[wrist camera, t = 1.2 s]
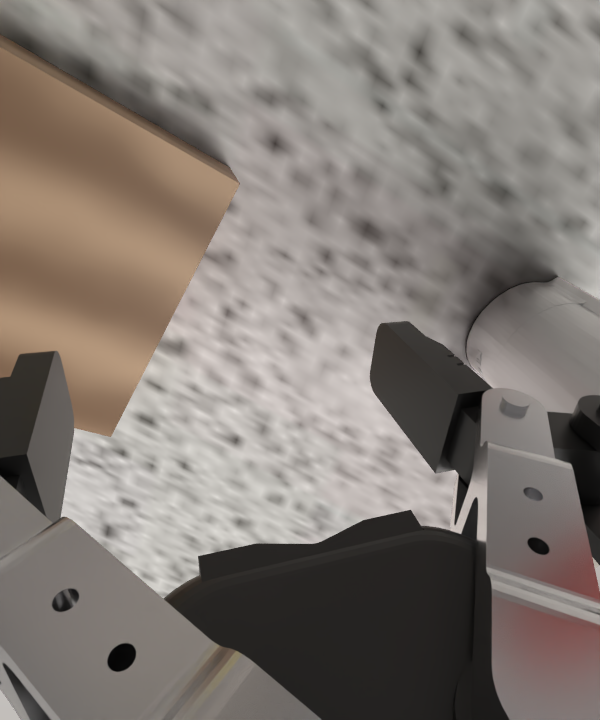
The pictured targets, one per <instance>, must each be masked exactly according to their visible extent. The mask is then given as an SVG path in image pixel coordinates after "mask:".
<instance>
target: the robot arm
mask: <svg viewBox="0 0 600 720" xmlns="http://www.w3.org/2000/svg"><path fill="white" fill-rule="evenodd" d="M466 352H467V357H468V361H469V363H470V364H471V366H472V368H473V369H474V370H475V371H476V372H477V373H478V374H479V375H480V376H481V377H482V378H483V379H482V378H481V377H479V376H478V375H477V374H476V373H475V372H474V371H473V370H471V369H470V368H469V367H468V366H467V365H464V363H463V362H462V361H461V360H460V359H459V358H458V357H454V354H453V353H452V352H451V351H449V350H448V349H447V348H446V347H445V346H444V345H442V344H440V343H438V342H436V341H434V340H432V339H430V338H428V337H426V336H425V335H424V334H422V333H421V332H420V331H419V330H418V329H417V328H416V327H415V326H413V325H412V324H411V323H410V322H408V321H403V322H391V323H382V324H380V326H379V327H378V329H377V333H376V339H375V346H374V352H373V358H372V364H371V370H370V381H371V386H372V389H373V391H374V393H375V395H376V396H377V397H378V399H379V400H380V401H381V403H382V404H383V405H384V407H385V408H386V409H387V411H388V412H389V413H390V414H391V416H392V417H393V418H394V420H395V421H396V422H397V424H398V425H399V426H400V428H401V429H402V430H403V431H404V433H405V434H406V435H407V437H408V438H409V439H410V441H411V442H412V443H413V445H414V446H415V447H416V449H417V450H418V451H419V452H420V454H421V455H422V456H423V458H424V459H425V460H426V462H427V463H428V464H429V466H430V467H431V468H432V470H433V471H434V472H435V473H441V472H446V471H451V470H456V472H457V473H458V474H457V477H456V480H455V484H454V493H453V503H452V513H451V523H450V530H446V529H441V528H436V527H429V526H421V525H420V524H419V522H418V521H417V519H416V518H415V516H414V514H413V513H412V511H411V510H408V511H404V512H399V513H394V514H390V515H385V516H381V517H376V518H371V519H367V520H363V521H361V522H359V523H357V524H355V525H353V526H351V527H349V528H347V529H345V530H343V531H341V532H339V533H338V534H336V535H334V536H332V537H330V538H328V539H326V540H324V541H322V542H319V543H316V544H252V545H248V546H243V547H238V548H234V549H229V550H225V551H220V552H216V553H211V554H206V555H202V556H198V560H199V573H200V575H199V576H197V577H195V578H193V579H191V580H189V581H187V582H186V583H184V584H183V585H181V586H179V587H178V588H176V589H175V590H174V591H172V592H171V593H170V594H169V595H167V596H166V597H165V598H164V599H163V598H162V597H161V596H159V595H158V594H157V593H156V592H155V591H154V590H153V589H151V588H150V587H149V586H148V585H147V584H146V583H144V582H143V581H142V580H141V579H140V578H139V577H138V576H136V575H135V574H134V573H133V572H132V571H131V570H129V569H128V568H127V567H126V566H125V565H124V564H123V563H121V562H120V561H119V560H118V559H117V558H116V557H114V556H113V555H112V554H111V553H110V552H109V551H108V550H106V549H105V548H104V547H103V546H102V545H101V544H99V543H98V542H97V541H96V540H95V539H94V538H92V537H91V536H90V535H89V534H88V533H87V532H86V531H84V530H83V529H82V528H81V527H80V526H79V525H77V524H76V523H75V522H74V521H73V520H71V519H69V518H67V517H61V510H62V504H63V498H64V492H65V485H66V479H67V473H68V467H69V460H70V454H71V448H72V441H73V435H74V415H73V408H72V403H71V399H70V395H69V391H68V386H67V382H66V378H65V373H64V369H63V365H62V361H61V357H60V355H59V353H58V351H47V352H36V353H24V354H20V355H19V356H18V359H17V361H16V364H15V366H14V369H13V371H12V374H11V376H10V377H2V378H0V690H1V691H2V692H3V694H4V695H5V697H6V698H7V699H8V701H9V702H10V704H11V705H12V707H13V708H14V709H15V711H16V713H17V714H18V716H19V718H20V719H21V720H600V591H599V587H598V582H597V577H596V573H595V568H594V563H593V559H592V557H593V558H594V559H595V560H596V561H597V562H598V564H599V565H600V300H599V299H597V298H596V297H594V296H592V295H590V294H589V293H587V292H585V291H583V290H581V289H580V288H578V287H576V286H574V285H573V284H571V283H569V282H567V281H565V280H564V279H562V278H560V277H557V278H555V279H553V280H552V281H549V282H546V283H541V282H531V283H525V284H521V285H519V286H516V287H513V288H511V289H509V290H507V291H506V292H504V293H502V294H501V295H499V296H498V297H497V298H495V299H494V300H493V301H492V302H490V304H489V305H488V306H487V307H486V308H485V309H484V310H483V311H482V312H481V314H480V315H479V316H478V318H477V319H476V321H475V322H474V324H473V326H472V329H471V331H470V333H469V337H468V340H467V350H466ZM60 517H61V518H60Z"/></svg>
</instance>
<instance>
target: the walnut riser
mask: <svg viewBox="0 0 600 720" xmlns="http://www.w3.org/2000/svg"><path fill="white" fill-rule="evenodd" d="M239 184H240V183H239V182H238V180H237V178H236V177H235V175H234V173H233V172H232V170H231V169H230V168H229V167H228V166H226V165H224V164H223V163H221V162H219V161H217V160H216V159H214V158H212V157H211V156H209V155H207V154H205V153H204V152H202V151H200V150H198V149H197V148H195V147H193V146H192V145H190V144H188V143H186V142H185V141H183V140H181V139H180V138H178V137H176V136H174V135H173V134H171V133H169V132H168V131H166V130H164V129H162V128H161V127H159V126H157V125H156V124H154V123H152V122H150V121H149V120H147V119H145V118H143V117H142V116H140V115H138V114H137V113H135V112H133V111H131V110H130V109H128V108H126V107H125V106H123V105H121V104H119V103H118V102H116V101H114V100H113V99H111V98H109V97H107V96H106V95H104V94H102V93H101V92H99V91H97V90H95V89H94V88H92V87H90V86H88V85H87V84H85V83H83V82H82V81H80V80H78V79H76V78H75V77H73V76H71V75H70V74H68V73H66V72H64V71H63V70H61V69H59V68H58V67H56V66H54V65H52V64H51V63H49V62H47V61H46V60H44V59H42V58H40V57H39V56H37V55H35V54H33V53H32V52H30V51H28V50H27V49H25V48H23V47H21V46H20V45H18V44H16V43H15V42H13V41H11V40H9V39H8V38H6V37H4V36H3V35H1V34H0V378H2V377H10V376H11V374H12V371H13V369H14V366H15V364H16V361H17V359H18V356H19V355H20V354H24V353H36V352H47V351H58V353H59V355H60V357H61V361H62V365H63V369H64V373H65V378H66V382H67V386H68V391H69V395H70V399H71V403H72V408H73V415H74V428H77V429H81V430H85V431H89V432H93V433H97V434H101V435H105V436H109V437H111V435H112V434H113V432H114V430H115V428H116V426H117V424H118V422H119V420H120V418H121V416H122V414H123V412H124V410H125V408H126V406H127V404H128V402H129V400H130V398H131V396H132V394H133V392H134V390H135V388H136V386H137V384H138V383H139V381H140V379H141V377H142V375H143V373H144V371H145V369H146V367H147V365H148V363H149V361H150V359H151V357H152V355H153V353H154V351H155V349H156V347H157V345H158V343H159V341H160V339H161V337H162V335H163V334H164V332H165V330H166V328H167V326H168V324H169V322H170V320H171V318H172V316H173V314H174V312H175V310H176V308H177V306H178V304H179V302H180V300H181V298H182V296H183V294H184V292H185V290H186V288H187V286H188V284H189V283H190V281H191V279H192V277H193V275H194V273H195V271H196V269H197V267H198V265H199V263H200V261H201V259H202V257H203V255H204V253H205V251H206V249H207V247H208V245H209V243H210V241H211V239H212V237H213V235H214V234H215V232H216V230H217V228H218V226H219V224H220V222H221V220H222V218H223V216H224V214H225V212H226V210H227V208H228V206H229V204H230V202H231V200H232V198H233V196H234V194H235V192H236V190H237V188H238V186H239Z"/></svg>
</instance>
